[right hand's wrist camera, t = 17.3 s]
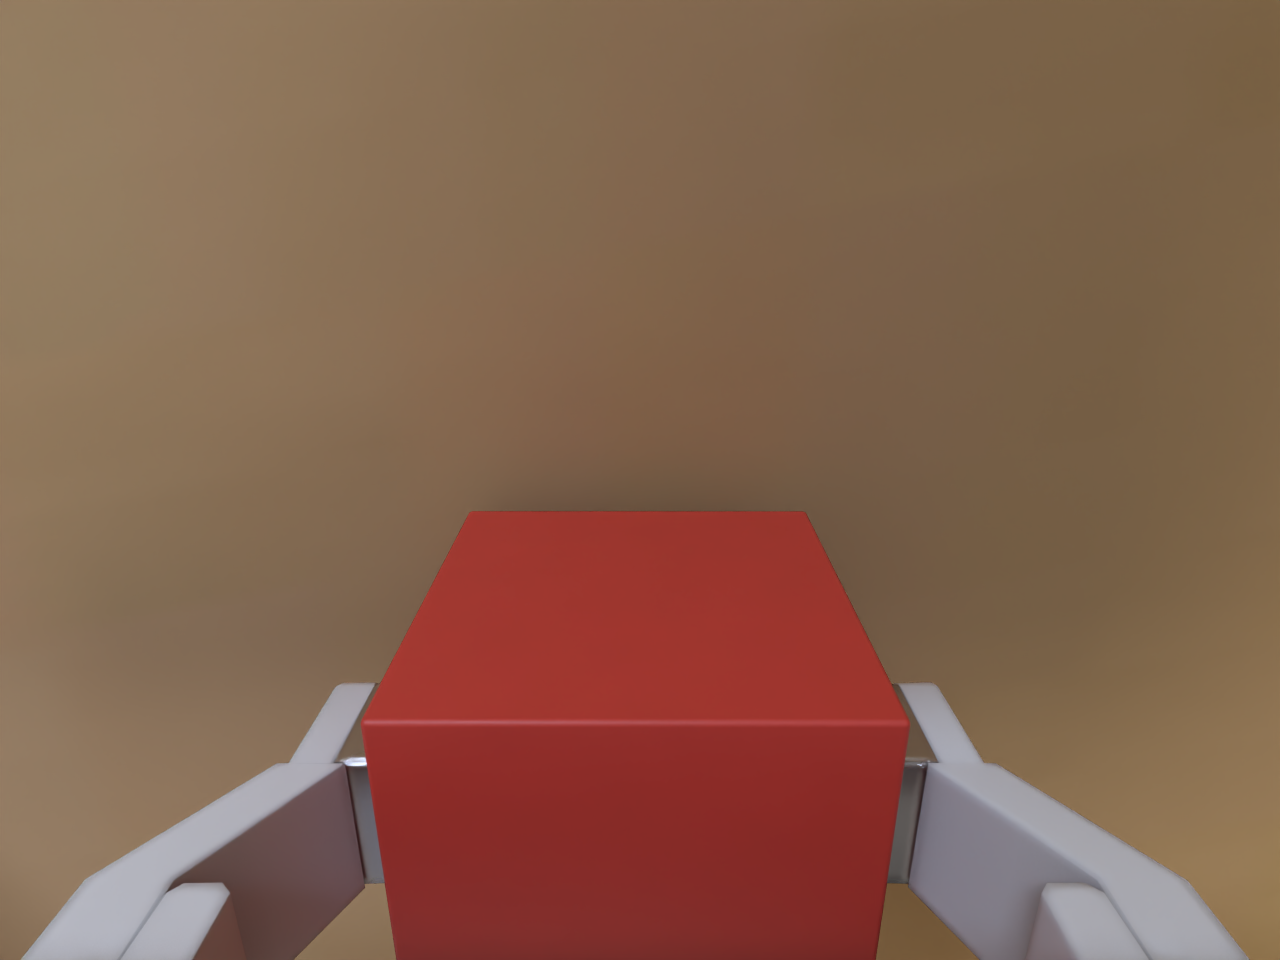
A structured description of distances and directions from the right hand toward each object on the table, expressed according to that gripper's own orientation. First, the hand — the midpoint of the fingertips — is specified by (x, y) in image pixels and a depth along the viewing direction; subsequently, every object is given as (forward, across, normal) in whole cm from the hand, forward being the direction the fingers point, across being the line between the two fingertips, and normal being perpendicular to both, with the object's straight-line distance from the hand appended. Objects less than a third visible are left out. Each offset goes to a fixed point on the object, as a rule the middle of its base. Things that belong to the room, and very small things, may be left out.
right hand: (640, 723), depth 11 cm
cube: (+2, 0, 0) cm, 2 cm away
